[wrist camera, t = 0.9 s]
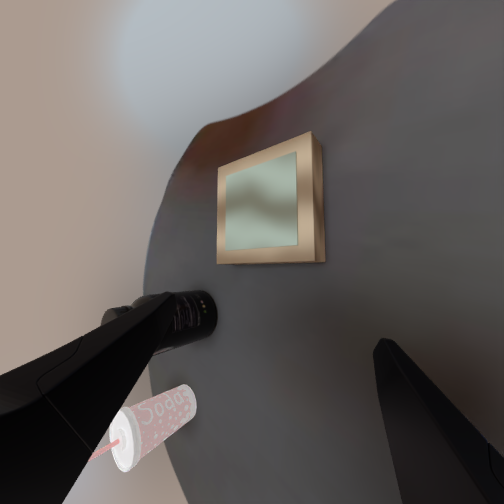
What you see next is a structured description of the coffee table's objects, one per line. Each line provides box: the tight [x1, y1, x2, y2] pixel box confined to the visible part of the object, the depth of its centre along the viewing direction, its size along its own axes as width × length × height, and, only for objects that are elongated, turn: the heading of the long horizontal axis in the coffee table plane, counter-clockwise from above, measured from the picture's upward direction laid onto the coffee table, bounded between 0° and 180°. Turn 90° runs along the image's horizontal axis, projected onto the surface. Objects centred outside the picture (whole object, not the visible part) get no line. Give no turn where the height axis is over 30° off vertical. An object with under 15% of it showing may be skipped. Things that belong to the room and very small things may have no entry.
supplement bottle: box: [101, 290, 216, 356], centre depth 26 cm, size 7×7×12 cm
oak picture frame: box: [217, 131, 325, 265], centre depth 24 cm, size 12×12×3 cm
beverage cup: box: [88, 384, 197, 472], centre depth 26 cm, size 6×6×14 cm
